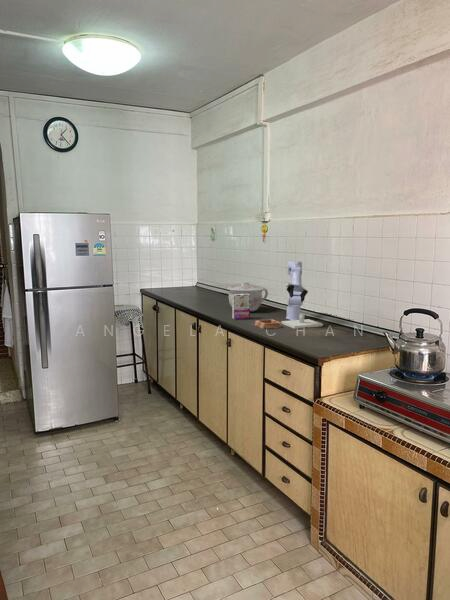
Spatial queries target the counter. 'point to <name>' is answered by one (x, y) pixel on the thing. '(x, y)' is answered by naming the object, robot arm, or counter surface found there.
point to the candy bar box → (240, 306)
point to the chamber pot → (249, 289)
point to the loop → (268, 324)
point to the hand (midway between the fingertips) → (297, 298)
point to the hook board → (301, 323)
